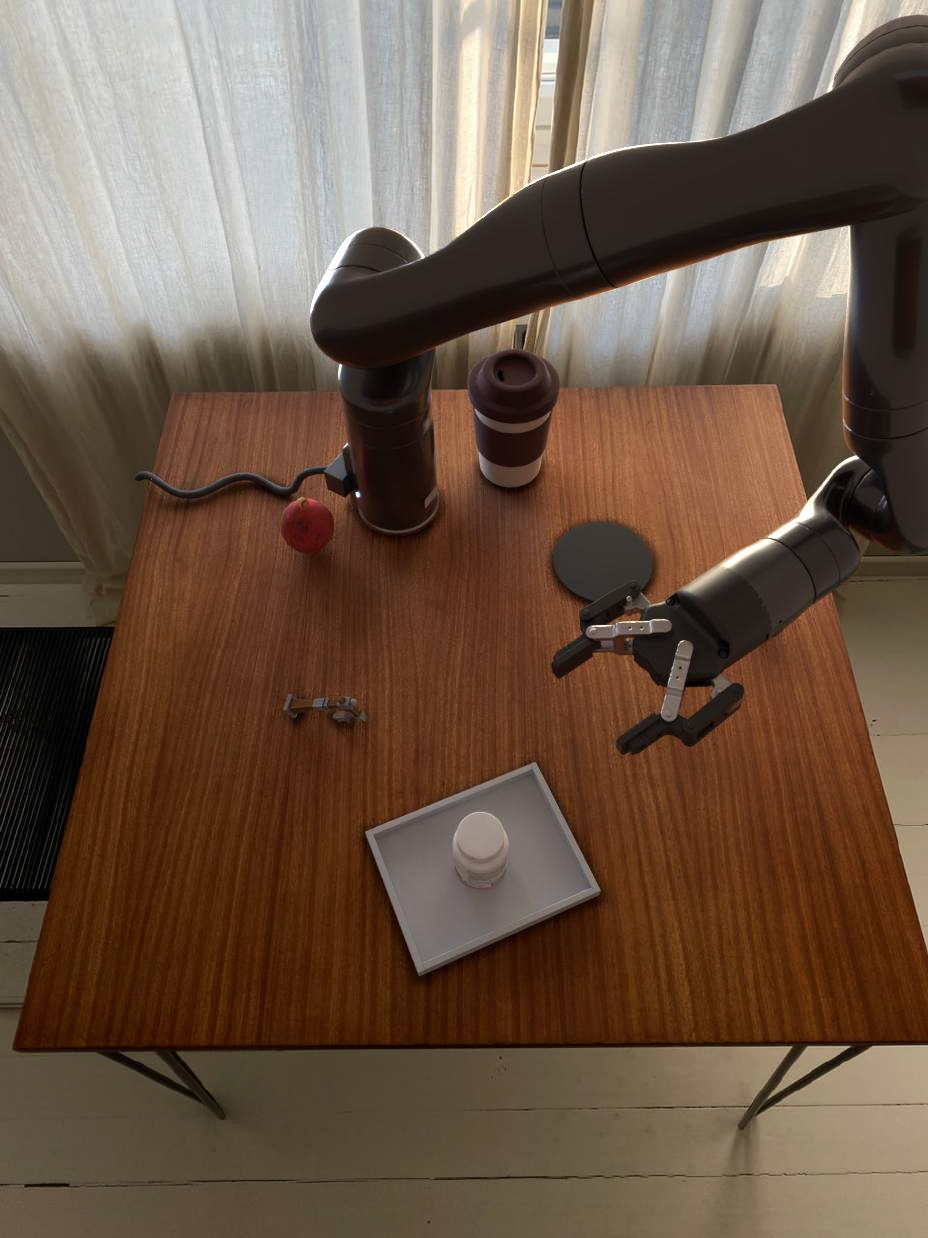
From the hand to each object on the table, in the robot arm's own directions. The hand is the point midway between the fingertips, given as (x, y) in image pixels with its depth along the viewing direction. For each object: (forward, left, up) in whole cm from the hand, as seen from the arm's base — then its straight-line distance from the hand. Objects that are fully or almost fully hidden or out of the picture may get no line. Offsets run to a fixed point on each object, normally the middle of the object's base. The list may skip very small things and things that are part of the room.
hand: (585, 708), depth 70 cm
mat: (-9, +25, -16) cm, 31 cm away
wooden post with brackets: (-24, -6, -16) cm, 30 cm away
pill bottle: (-3, -11, -16) cm, 20 cm away
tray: (-3, -11, -16) cm, 20 cm away
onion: (-38, +10, -16) cm, 43 cm away
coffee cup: (-25, +32, -16) cm, 44 cm away
